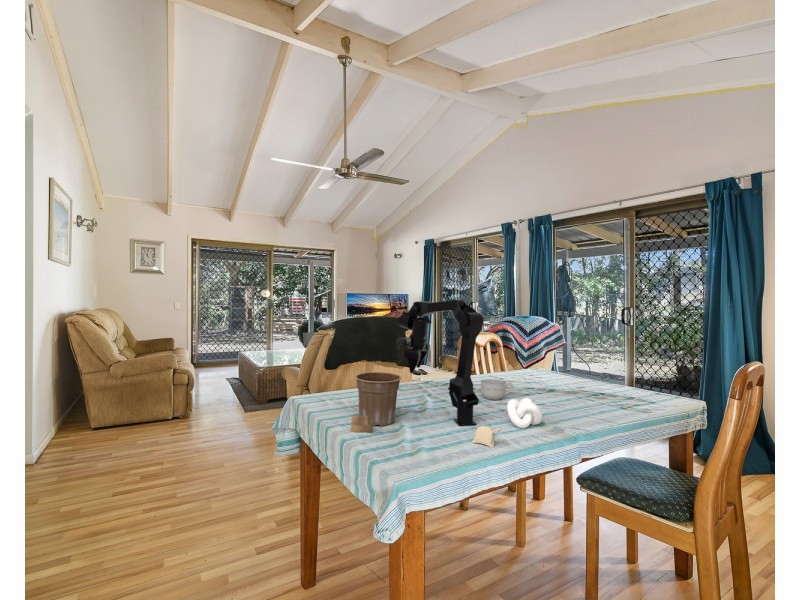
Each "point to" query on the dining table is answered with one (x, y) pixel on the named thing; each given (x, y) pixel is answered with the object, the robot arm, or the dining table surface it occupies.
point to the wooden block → (362, 423)
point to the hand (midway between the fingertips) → (414, 370)
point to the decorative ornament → (485, 436)
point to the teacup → (494, 388)
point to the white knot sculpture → (524, 412)
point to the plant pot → (378, 396)
